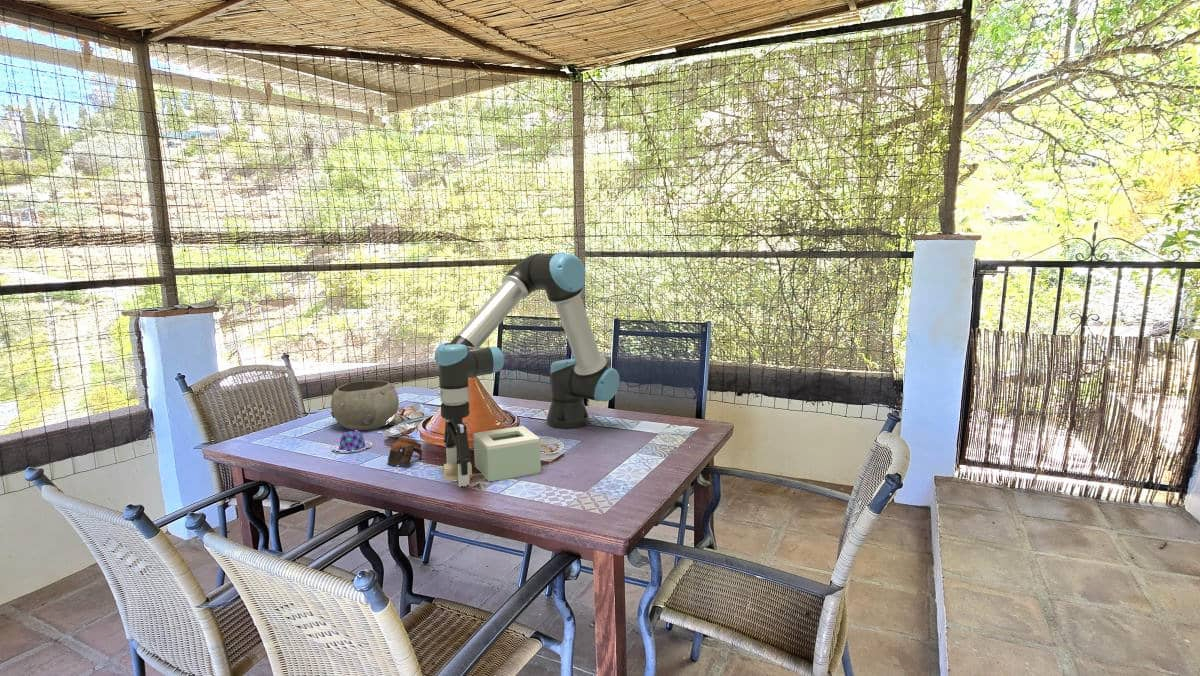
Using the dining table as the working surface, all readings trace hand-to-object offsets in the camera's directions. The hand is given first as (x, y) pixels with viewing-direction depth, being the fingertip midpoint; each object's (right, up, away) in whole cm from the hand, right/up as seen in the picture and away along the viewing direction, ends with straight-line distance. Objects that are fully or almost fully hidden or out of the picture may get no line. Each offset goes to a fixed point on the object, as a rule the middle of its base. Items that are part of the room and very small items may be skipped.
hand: (457, 477), depth 167 cm
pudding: (-40, +3, +28) cm, 49 cm away
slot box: (+13, +1, +6) cm, 14 cm away
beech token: (0, 0, 0) cm, 0 cm away
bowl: (-46, +7, +54) cm, 71 cm away
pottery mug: (-19, +1, +13) cm, 23 cm away
